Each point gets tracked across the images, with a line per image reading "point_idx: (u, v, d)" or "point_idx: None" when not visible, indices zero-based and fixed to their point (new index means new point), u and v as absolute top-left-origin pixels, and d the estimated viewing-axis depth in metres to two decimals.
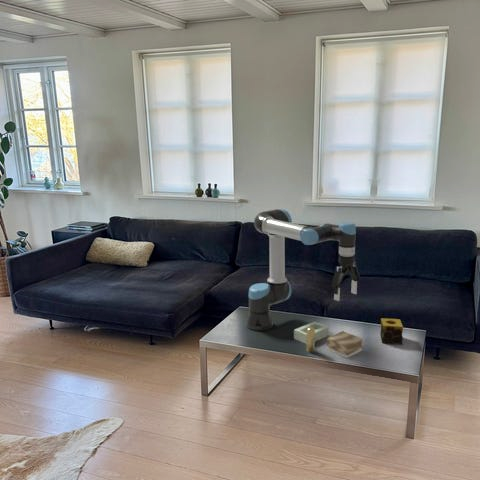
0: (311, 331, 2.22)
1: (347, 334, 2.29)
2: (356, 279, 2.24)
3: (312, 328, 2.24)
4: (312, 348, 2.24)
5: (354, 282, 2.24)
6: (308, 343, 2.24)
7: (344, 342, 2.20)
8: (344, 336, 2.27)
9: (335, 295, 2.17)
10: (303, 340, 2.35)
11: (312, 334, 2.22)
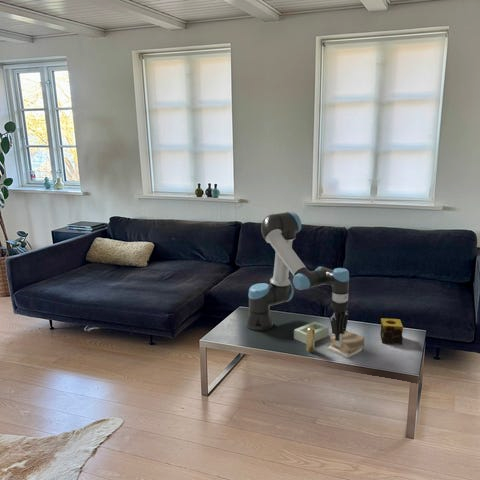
0: (311, 331, 2.22)
1: (349, 333, 2.30)
2: (342, 331, 2.20)
3: (312, 328, 2.24)
4: (312, 348, 2.24)
5: None
6: (308, 343, 2.24)
7: (346, 341, 2.21)
8: (346, 335, 2.28)
9: (336, 341, 2.22)
10: (303, 340, 2.35)
11: (312, 334, 2.22)
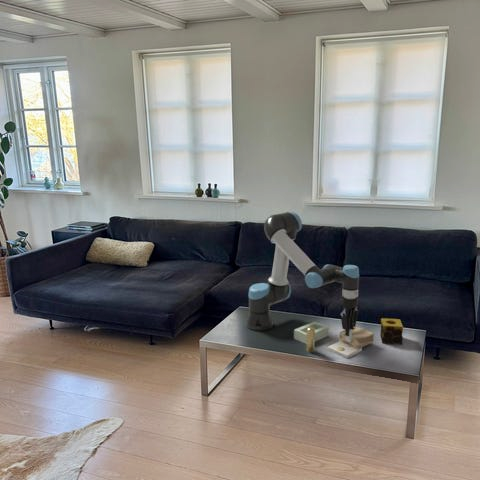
0: (311, 331, 2.22)
1: (359, 329, 2.35)
2: (352, 326, 2.25)
3: (312, 328, 2.24)
4: (312, 348, 2.24)
5: None
6: (308, 343, 2.24)
7: (356, 336, 2.26)
8: (355, 330, 2.33)
9: (346, 337, 2.27)
10: (303, 340, 2.35)
11: (312, 334, 2.22)
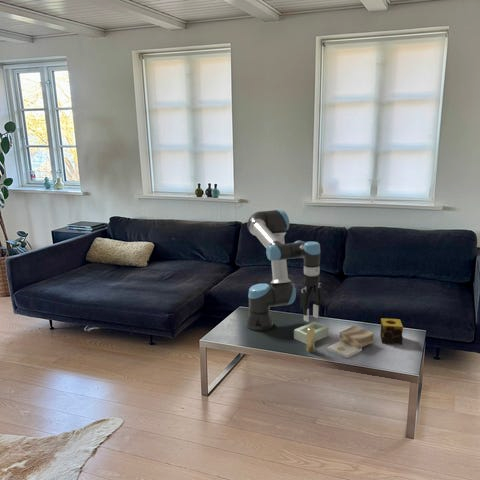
0: (311, 331, 2.22)
1: (359, 329, 2.35)
2: (318, 302, 2.22)
3: (312, 328, 2.24)
4: (312, 348, 2.24)
5: (315, 306, 2.23)
6: (308, 343, 2.24)
7: (356, 336, 2.26)
8: (355, 330, 2.33)
9: (304, 316, 2.20)
10: (303, 340, 2.35)
11: (312, 334, 2.22)
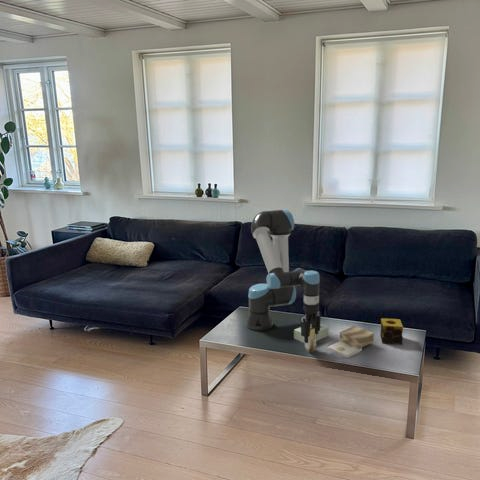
0: (311, 331, 2.22)
1: (359, 329, 2.35)
2: (316, 331, 2.25)
3: (312, 328, 2.24)
4: (312, 348, 2.24)
5: None
6: None
7: (356, 336, 2.26)
8: (355, 330, 2.33)
9: (306, 343, 2.24)
10: (303, 340, 2.35)
11: (312, 334, 2.22)
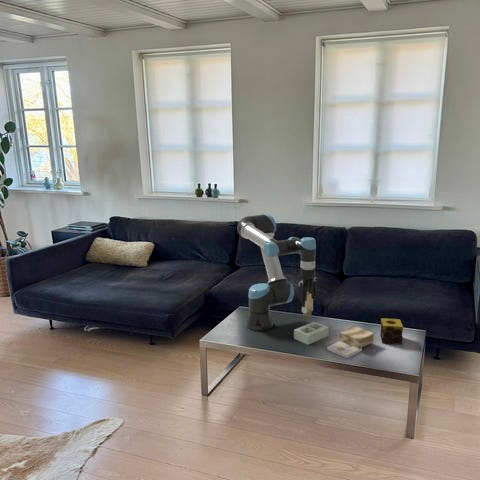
0: (308, 295, 2.32)
1: (359, 329, 2.35)
2: (312, 296, 2.35)
3: (309, 293, 2.33)
4: (309, 312, 2.34)
5: None
6: None
7: (356, 336, 2.26)
8: (355, 330, 2.33)
9: (303, 308, 2.34)
10: (303, 340, 2.35)
11: (309, 298, 2.32)
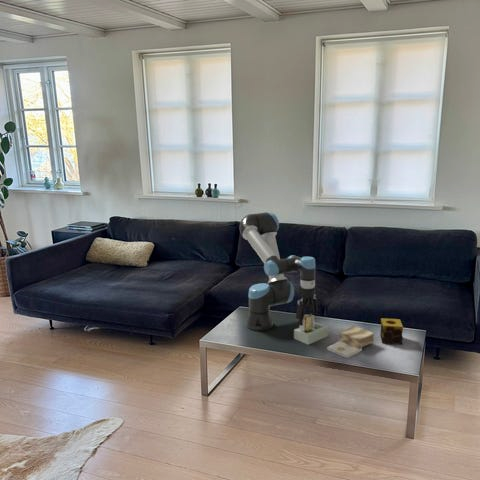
0: (307, 318, 2.34)
1: (359, 329, 2.35)
2: (314, 313, 2.38)
3: (308, 316, 2.36)
4: None
5: (312, 316, 2.38)
6: (305, 330, 2.36)
7: (356, 336, 2.26)
8: (355, 330, 2.33)
9: (300, 326, 2.35)
10: (303, 340, 2.35)
11: (308, 321, 2.35)
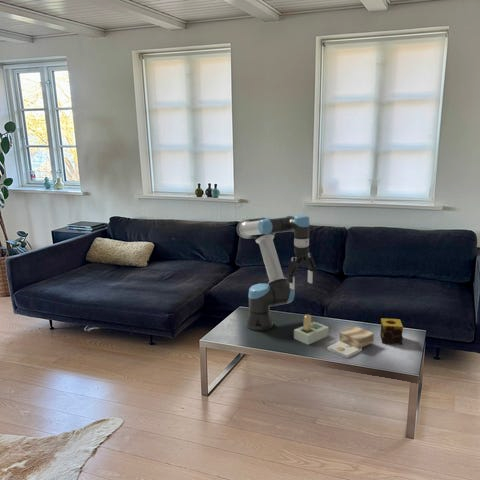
0: (308, 318, 2.35)
1: (359, 329, 2.35)
2: (312, 269, 2.37)
3: (309, 316, 2.36)
4: None
5: (310, 272, 2.38)
6: (305, 330, 2.37)
7: (356, 336, 2.26)
8: (355, 330, 2.33)
9: (290, 284, 2.31)
10: (303, 340, 2.35)
11: (308, 321, 2.35)
